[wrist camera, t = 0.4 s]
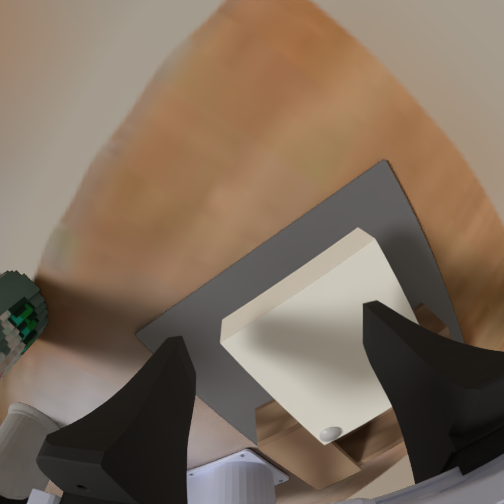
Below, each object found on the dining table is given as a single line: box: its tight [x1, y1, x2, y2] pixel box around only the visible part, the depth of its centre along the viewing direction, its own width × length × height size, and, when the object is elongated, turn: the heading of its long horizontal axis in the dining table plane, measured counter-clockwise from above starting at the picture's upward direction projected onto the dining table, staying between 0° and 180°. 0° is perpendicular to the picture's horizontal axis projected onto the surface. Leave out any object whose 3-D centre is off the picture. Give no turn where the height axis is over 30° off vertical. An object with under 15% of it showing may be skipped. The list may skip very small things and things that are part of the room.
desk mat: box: [135, 159, 465, 445], centre depth 24 cm, size 22×22×1 cm
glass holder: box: [0, 402, 60, 504], centre depth 21 cm, size 9×14×15 cm, turn 159°
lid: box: [220, 228, 419, 445], centre depth 17 cm, size 11×9×2 cm
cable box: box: [255, 303, 452, 490], centre depth 23 cm, size 16×10×5 cm, turn 126°
